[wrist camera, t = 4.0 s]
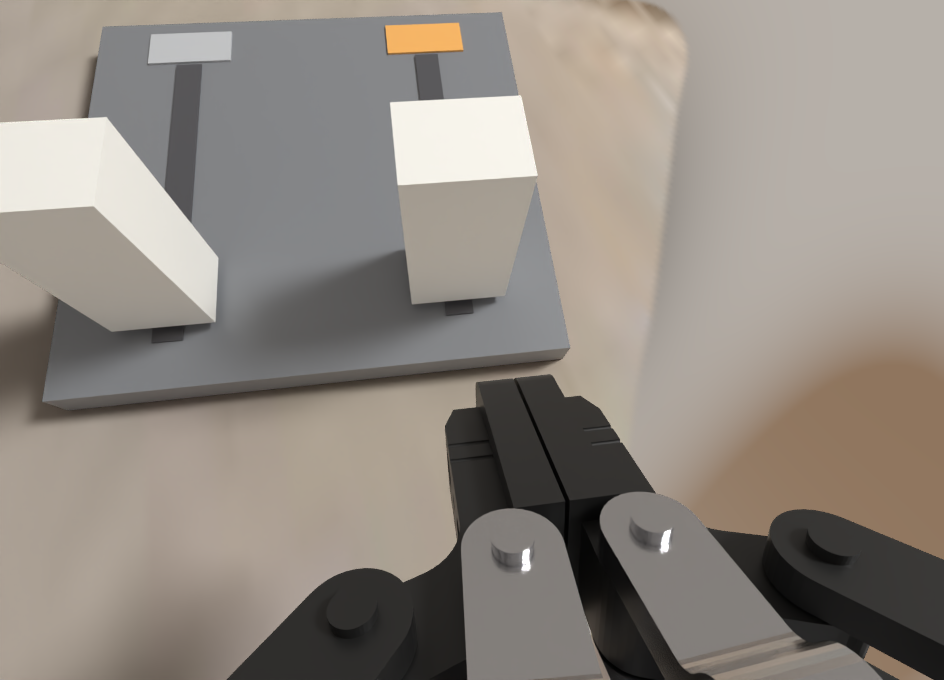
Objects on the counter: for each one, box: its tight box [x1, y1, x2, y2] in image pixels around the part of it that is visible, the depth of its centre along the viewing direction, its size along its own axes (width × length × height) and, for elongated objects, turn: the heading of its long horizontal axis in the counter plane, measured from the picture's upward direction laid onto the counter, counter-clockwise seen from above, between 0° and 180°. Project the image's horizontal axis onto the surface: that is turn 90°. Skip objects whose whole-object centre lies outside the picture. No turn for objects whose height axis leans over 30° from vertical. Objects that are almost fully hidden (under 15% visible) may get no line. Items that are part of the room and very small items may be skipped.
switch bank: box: [42, 12, 570, 410], centre depth 25 cm, size 21×20×2 cm
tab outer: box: [390, 95, 538, 304], centre depth 19 cm, size 4×3×8 cm
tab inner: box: [0, 117, 218, 332], centre depth 18 cm, size 4×3×8 cm
